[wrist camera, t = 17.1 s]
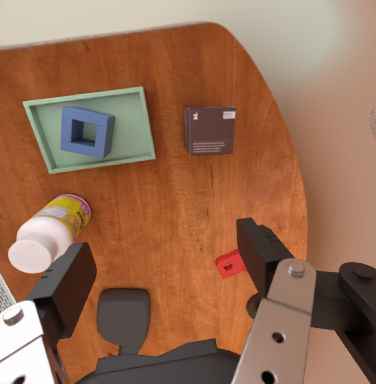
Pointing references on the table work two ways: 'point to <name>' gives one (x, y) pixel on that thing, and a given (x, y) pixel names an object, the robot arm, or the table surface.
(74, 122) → the holed block
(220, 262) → the bracket
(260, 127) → the table surface
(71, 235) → the supplement bottle
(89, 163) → the tray
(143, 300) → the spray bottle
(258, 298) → the dowel stand
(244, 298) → the table surface
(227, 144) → the box
